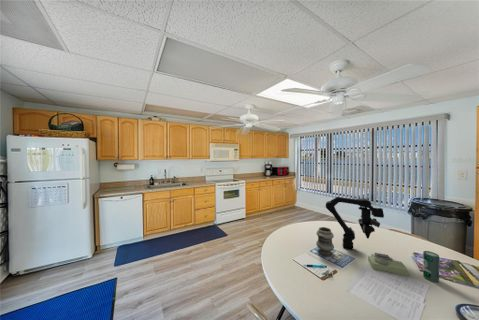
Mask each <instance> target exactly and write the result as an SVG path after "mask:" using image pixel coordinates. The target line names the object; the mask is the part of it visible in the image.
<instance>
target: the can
mask: <svg viewBox="0 0 479 320" xmlns="http://www.w3.org/2000/svg"><path fill="white" fill-rule="evenodd" d="M422 257H423V258H422V259H423V261H422V263H423V264H422V269H423V271H422V273H423V274H422V275H423V278H424V279H426V280H427V281H428V282H429V281H430V282H433V283H440V255H439V254H438V253H435V252H433V251H429V250H424V251H423V253H422Z"/></svg>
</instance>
